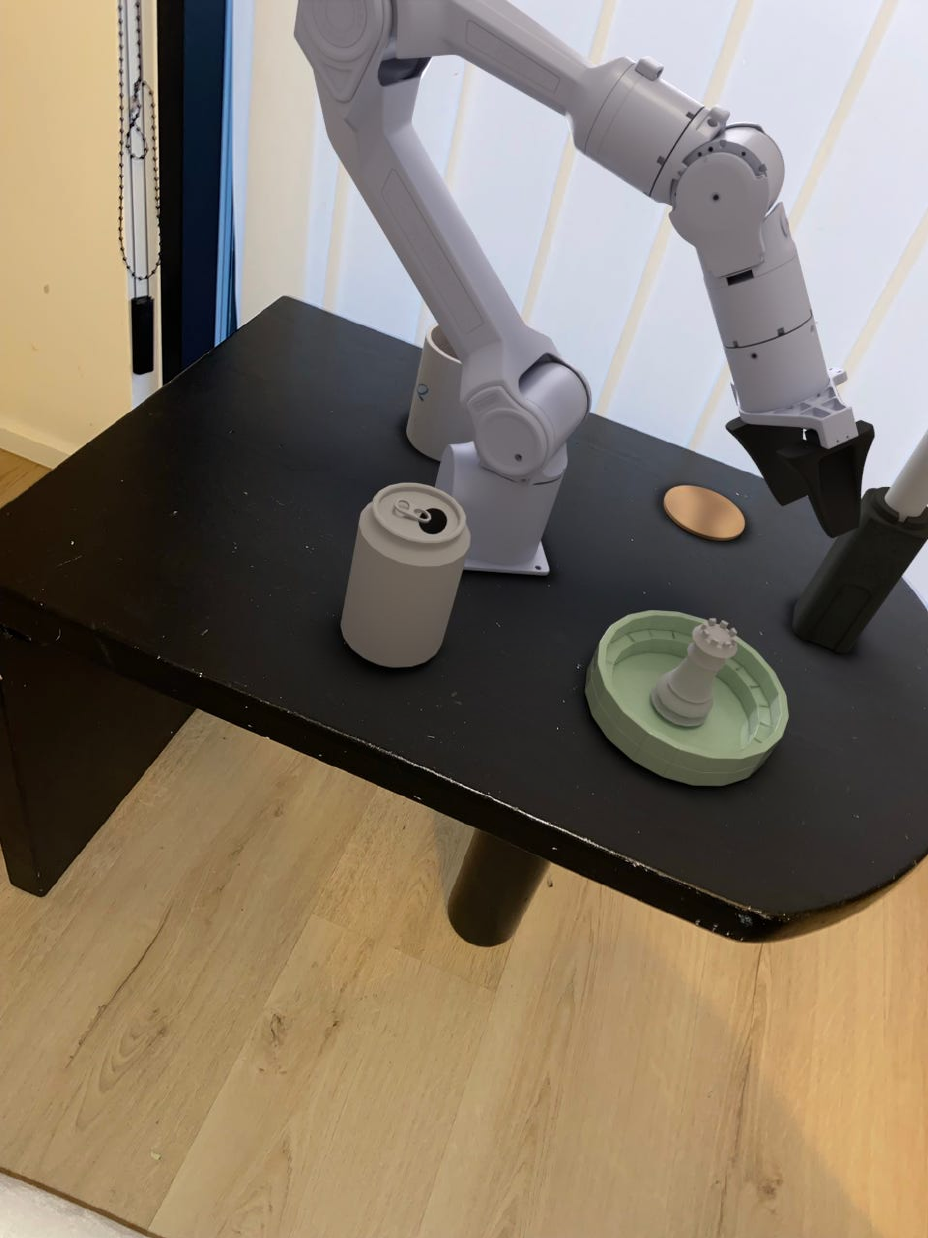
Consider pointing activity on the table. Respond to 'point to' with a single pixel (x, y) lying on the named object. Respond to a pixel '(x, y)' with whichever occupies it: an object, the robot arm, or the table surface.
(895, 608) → the table surface
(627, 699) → the dish
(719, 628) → the rook chess piece
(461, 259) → the robot arm
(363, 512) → the can
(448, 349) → the mug
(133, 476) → the table surface
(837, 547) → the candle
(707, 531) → the coaster
